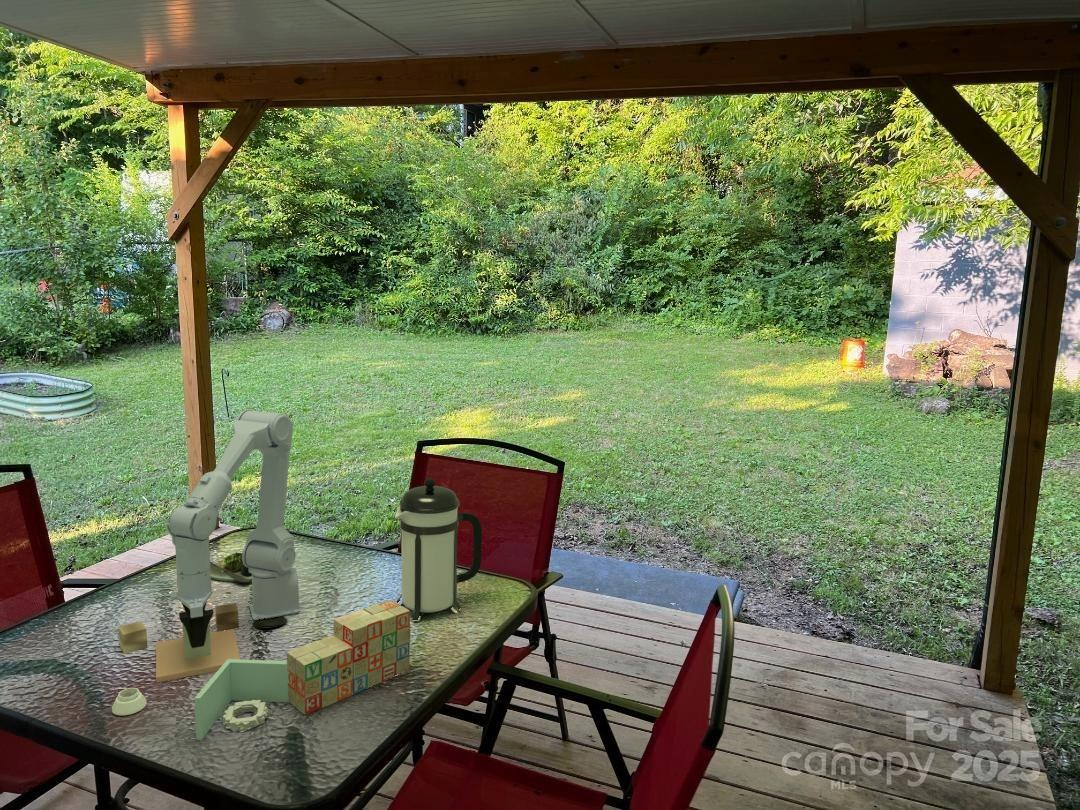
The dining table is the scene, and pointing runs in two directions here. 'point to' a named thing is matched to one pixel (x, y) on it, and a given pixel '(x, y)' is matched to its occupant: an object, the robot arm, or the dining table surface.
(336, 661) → the stack of blocks
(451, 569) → the coffee press
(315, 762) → the dining table surface
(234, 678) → the right angle wall
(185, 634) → the sage block
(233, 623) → the walnut block
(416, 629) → the dining table surface
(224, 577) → the salad plate
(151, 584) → the dining table surface
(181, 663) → the tan flat square slab
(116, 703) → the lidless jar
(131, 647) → the pale oak block
